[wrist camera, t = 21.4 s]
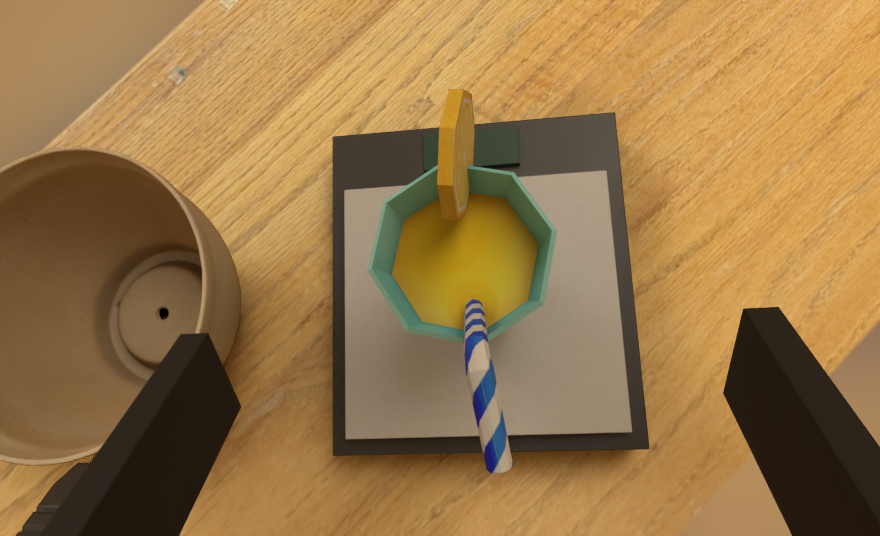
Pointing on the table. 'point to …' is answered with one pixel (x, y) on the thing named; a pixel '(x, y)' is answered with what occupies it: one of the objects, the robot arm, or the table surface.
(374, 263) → the cup
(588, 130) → the scale
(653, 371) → the table surface
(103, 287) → the planter bowl
